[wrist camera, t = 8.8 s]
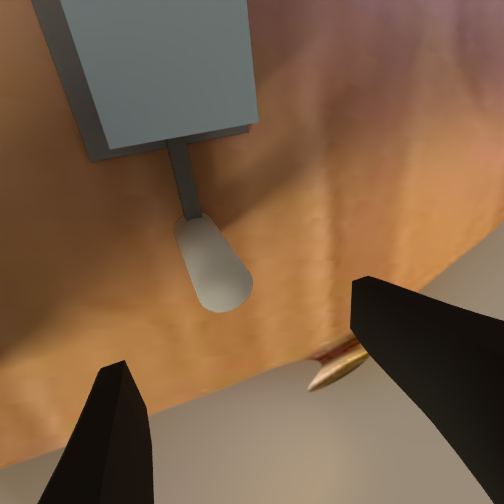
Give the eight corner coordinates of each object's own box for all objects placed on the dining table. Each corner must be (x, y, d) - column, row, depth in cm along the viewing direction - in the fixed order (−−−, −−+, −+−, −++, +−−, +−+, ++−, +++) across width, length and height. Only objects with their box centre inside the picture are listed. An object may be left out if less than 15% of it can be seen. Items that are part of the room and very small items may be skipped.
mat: (247, 131, 16) (248, 132, 16) (91, 161, 14) (90, 162, 14) (225, -50, 13) (227, -52, 13) (16, -43, 11) (14, -45, 11)
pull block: (240, 236, 18) (286, 291, 13) (154, 260, 17) (168, 331, 12) (201, -22, 13) (254, -96, 8) (66, -14, 11) (22, -98, 6)
